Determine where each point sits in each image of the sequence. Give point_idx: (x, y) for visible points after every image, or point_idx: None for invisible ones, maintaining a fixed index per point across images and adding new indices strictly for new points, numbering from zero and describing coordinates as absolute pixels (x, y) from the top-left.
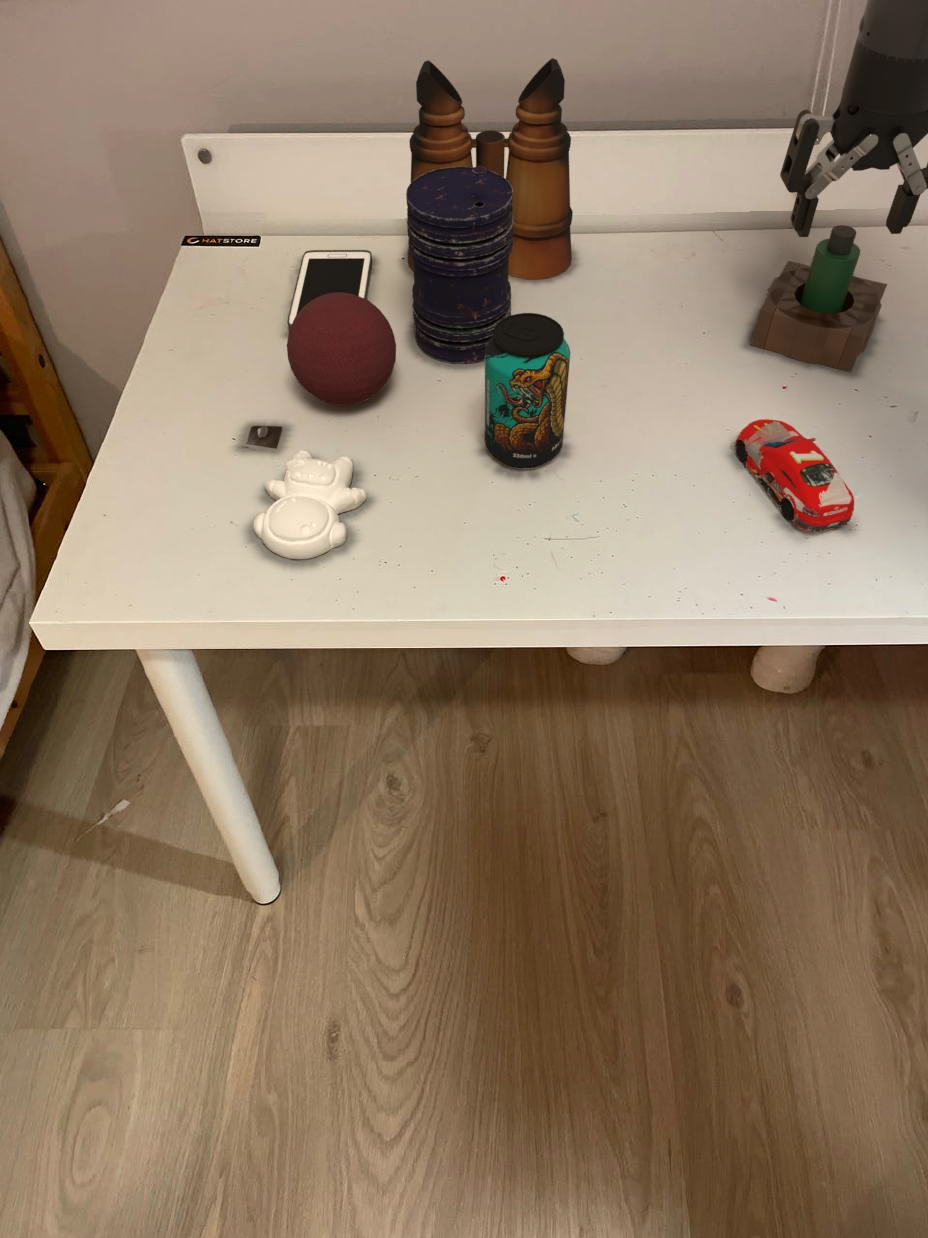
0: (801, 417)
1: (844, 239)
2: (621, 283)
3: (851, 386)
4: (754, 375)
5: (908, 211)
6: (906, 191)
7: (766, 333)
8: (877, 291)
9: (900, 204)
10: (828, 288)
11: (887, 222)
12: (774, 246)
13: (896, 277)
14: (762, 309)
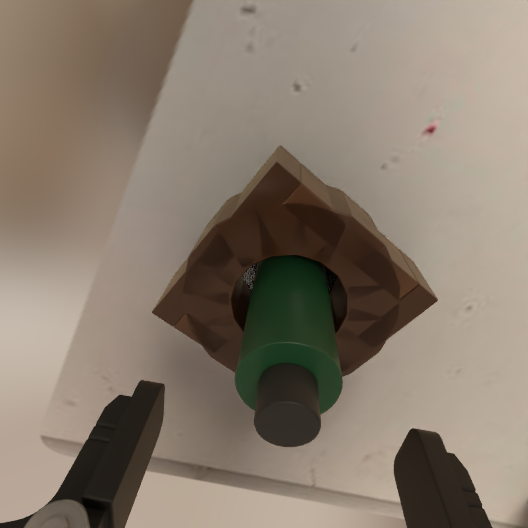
0: (458, 19)
1: (300, 398)
2: (507, 433)
3: (299, 102)
4: (460, 181)
5: (111, 439)
6: (103, 521)
7: (407, 263)
8: (179, 297)
9: (131, 472)
10: (313, 301)
11: (159, 424)
12: (248, 445)
13: (102, 353)
14: (431, 301)
